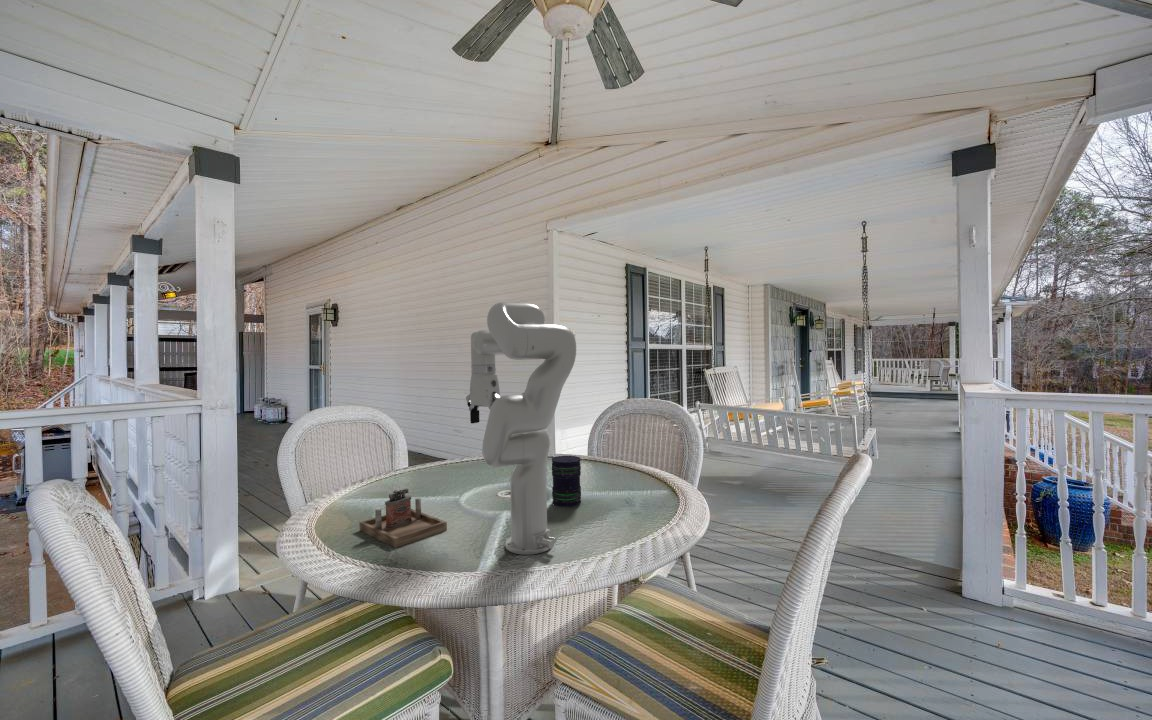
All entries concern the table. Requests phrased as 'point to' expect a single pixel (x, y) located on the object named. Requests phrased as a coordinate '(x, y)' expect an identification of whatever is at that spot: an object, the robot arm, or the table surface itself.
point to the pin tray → (403, 527)
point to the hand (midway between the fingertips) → (484, 424)
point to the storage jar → (566, 481)
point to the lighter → (398, 509)
